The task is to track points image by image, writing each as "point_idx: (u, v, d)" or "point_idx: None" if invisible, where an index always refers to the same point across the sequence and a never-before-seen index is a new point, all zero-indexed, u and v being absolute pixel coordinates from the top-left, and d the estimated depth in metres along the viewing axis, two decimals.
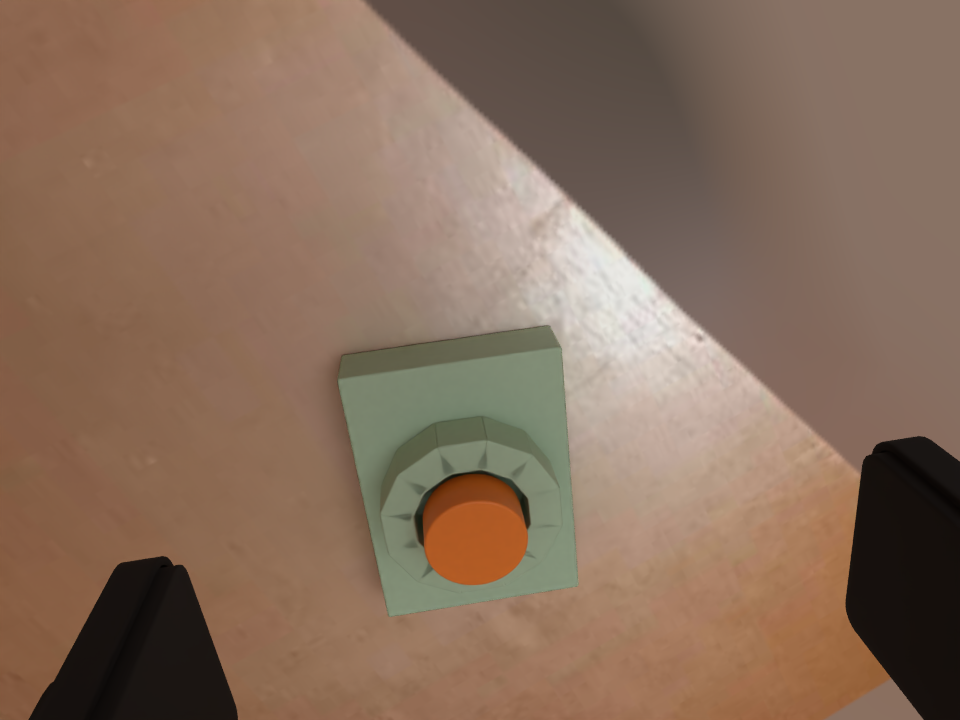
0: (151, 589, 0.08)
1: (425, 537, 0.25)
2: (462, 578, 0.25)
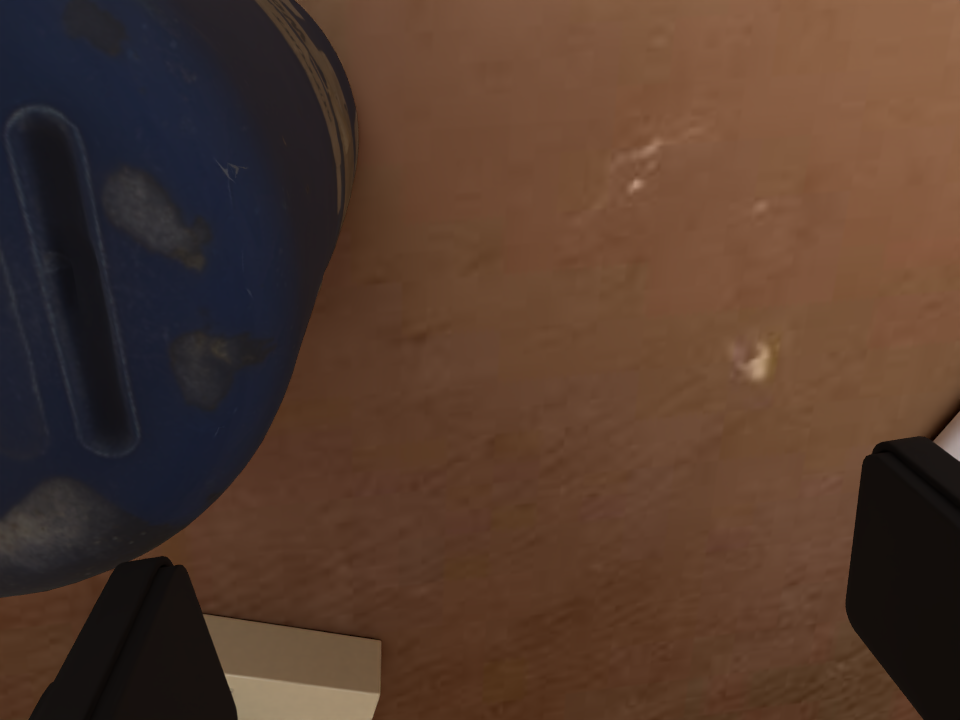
0: (151, 589, 0.08)
1: None
2: None
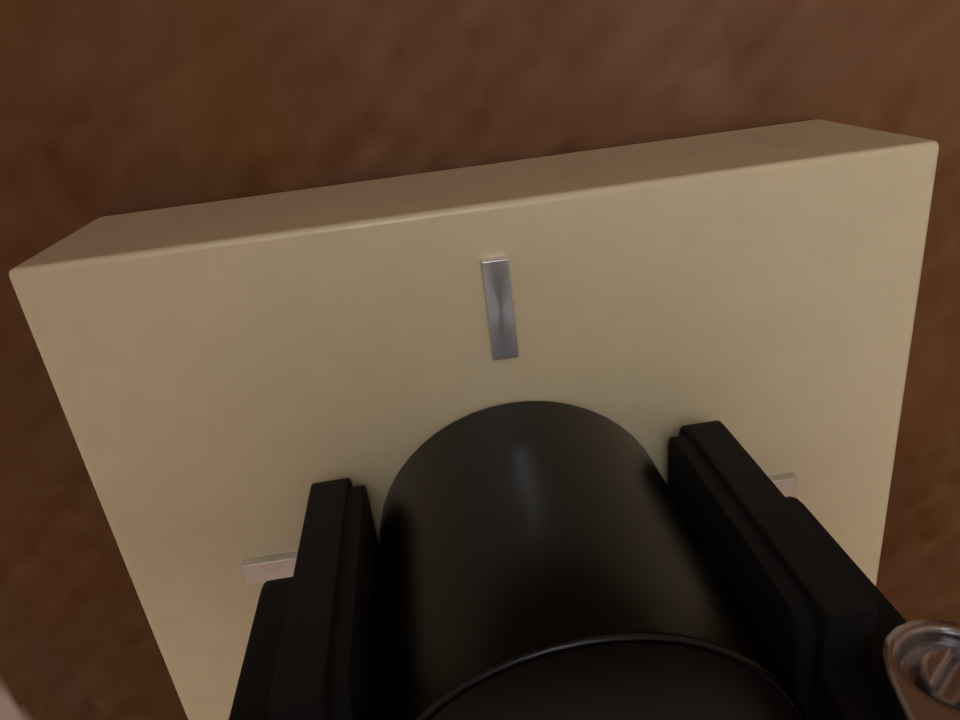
0: (349, 502, 0.10)
1: None
2: None
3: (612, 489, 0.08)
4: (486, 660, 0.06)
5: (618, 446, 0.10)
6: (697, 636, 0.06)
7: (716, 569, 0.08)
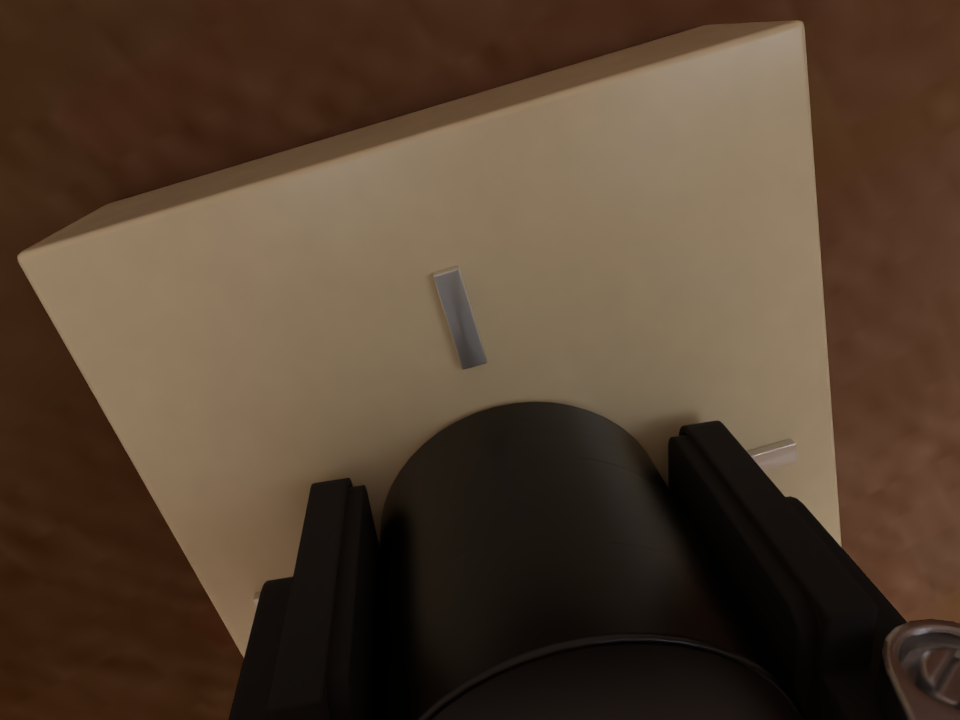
0: (349, 502, 0.10)
1: None
2: None
3: (615, 490, 0.08)
4: (490, 660, 0.06)
5: (620, 448, 0.10)
6: (701, 636, 0.06)
7: (718, 572, 0.08)
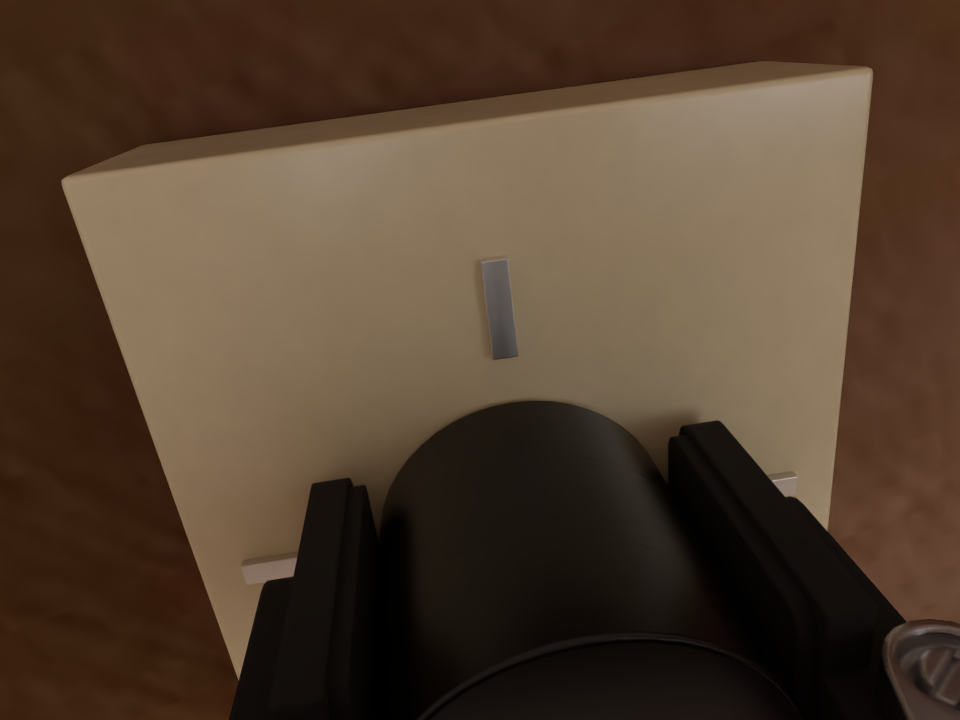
0: (349, 502, 0.10)
1: None
2: None
3: (612, 489, 0.08)
4: (486, 659, 0.06)
5: (618, 446, 0.10)
6: (697, 636, 0.06)
7: (716, 569, 0.08)
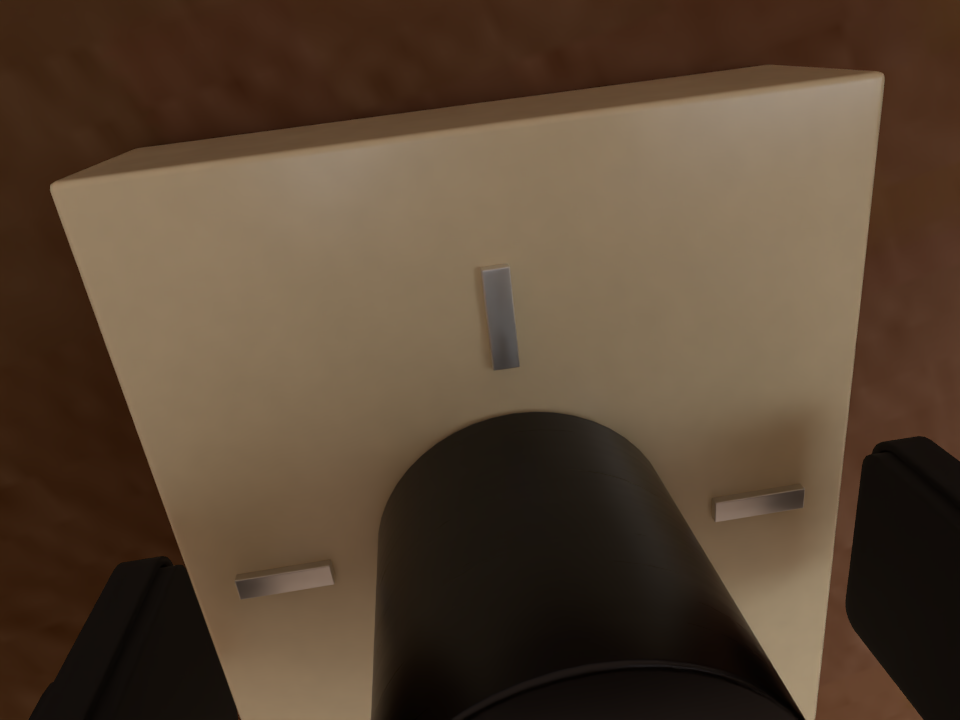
0: (152, 589, 0.08)
1: None
2: None
3: (619, 505, 0.08)
4: (490, 688, 0.06)
5: (623, 459, 0.09)
6: (708, 664, 0.06)
7: (725, 589, 0.08)
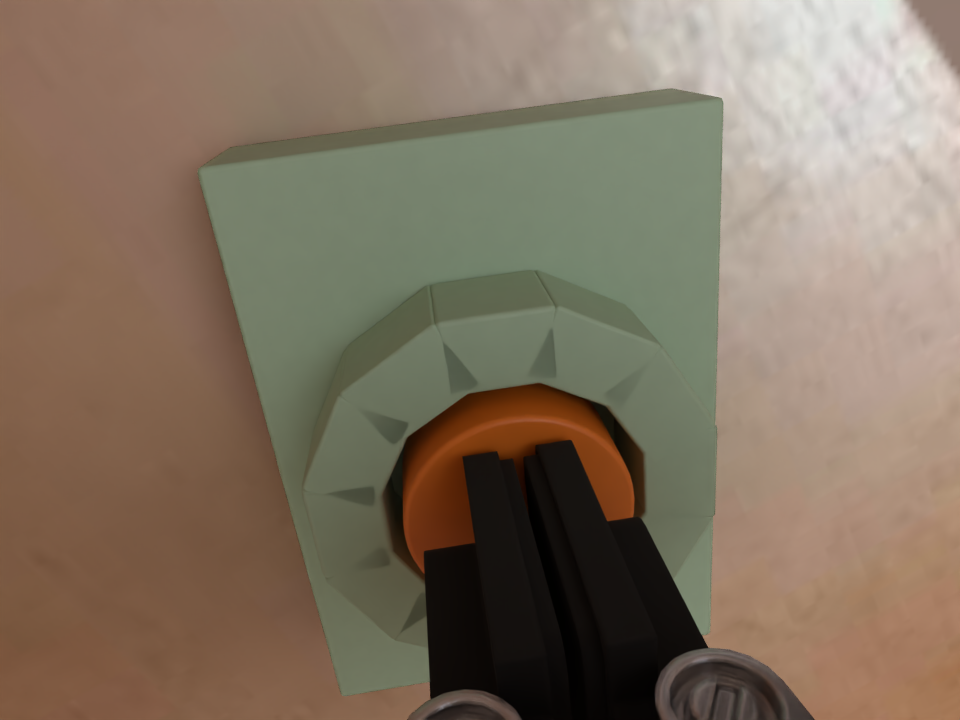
0: (505, 474, 0.10)
1: (406, 503, 0.11)
2: None
3: None
4: None
5: None
6: None
7: None
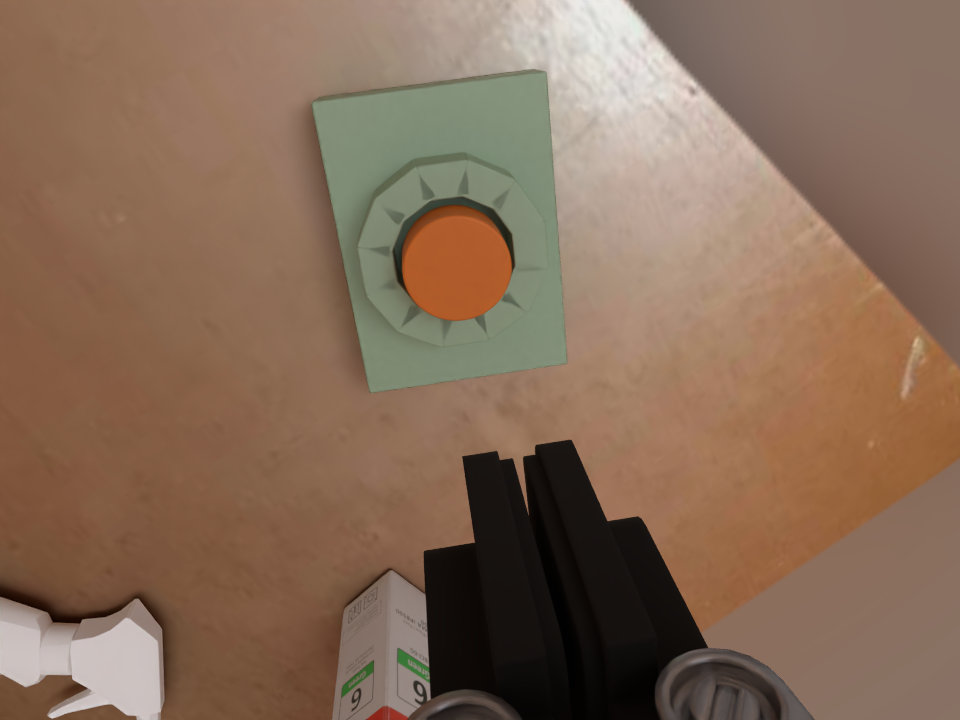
0: (505, 474, 0.10)
1: (403, 260, 0.23)
2: (443, 311, 0.24)
3: None
4: None
5: None
6: None
7: None
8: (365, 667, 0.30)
